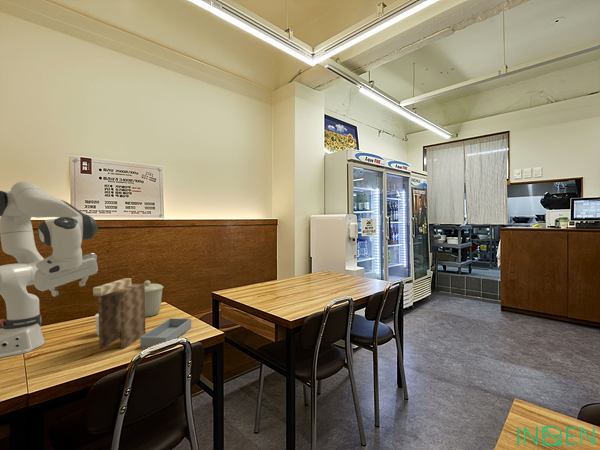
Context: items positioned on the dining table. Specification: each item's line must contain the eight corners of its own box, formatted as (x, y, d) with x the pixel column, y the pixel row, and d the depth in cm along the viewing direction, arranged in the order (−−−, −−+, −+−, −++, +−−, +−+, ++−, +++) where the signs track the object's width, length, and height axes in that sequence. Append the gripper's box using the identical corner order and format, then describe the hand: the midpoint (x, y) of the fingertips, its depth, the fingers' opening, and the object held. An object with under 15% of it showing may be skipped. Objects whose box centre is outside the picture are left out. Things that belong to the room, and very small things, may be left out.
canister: (127, 321, 171) (127, 284, 171) (134, 311, 188) (133, 278, 188) (162, 317, 177) (161, 282, 176) (165, 308, 194) (165, 276, 193)
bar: (101, 296, 126) (100, 287, 126) (93, 295, 127) (93, 287, 126) (131, 285, 146) (131, 278, 146) (124, 285, 146) (124, 278, 146)
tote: (165, 348, 134) (165, 337, 134) (140, 347, 135) (140, 337, 135) (191, 327, 160) (191, 318, 159) (169, 327, 161) (169, 318, 160)
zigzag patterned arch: (124, 348, 134) (123, 291, 134) (99, 347, 135) (98, 291, 135) (145, 334, 150) (144, 283, 150) (123, 334, 151) (122, 283, 151)
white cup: (104, 336, 148) (104, 317, 148) (91, 335, 150) (91, 316, 149) (117, 331, 156) (117, 312, 156) (104, 330, 157) (104, 311, 157)
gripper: (91, 248, 122) (92, 277, 127) (30, 265, 104) (33, 297, 109) (101, 254, 120) (101, 283, 125) (40, 272, 102) (42, 305, 107)
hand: (69, 290), depth 117 cm, fingers open, 8 cm apart
